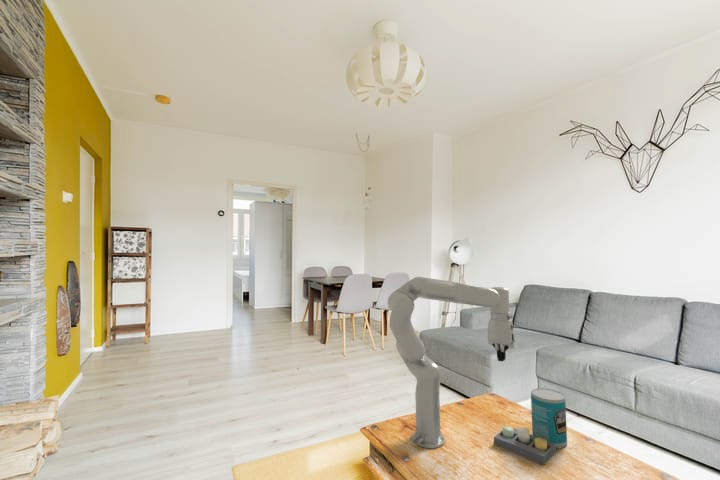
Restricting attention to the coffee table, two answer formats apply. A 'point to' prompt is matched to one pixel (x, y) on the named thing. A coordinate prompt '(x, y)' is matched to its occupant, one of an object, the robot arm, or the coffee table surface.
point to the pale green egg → (508, 432)
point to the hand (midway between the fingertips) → (501, 360)
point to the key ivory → (523, 435)
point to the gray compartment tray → (525, 447)
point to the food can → (549, 416)
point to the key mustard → (541, 444)
